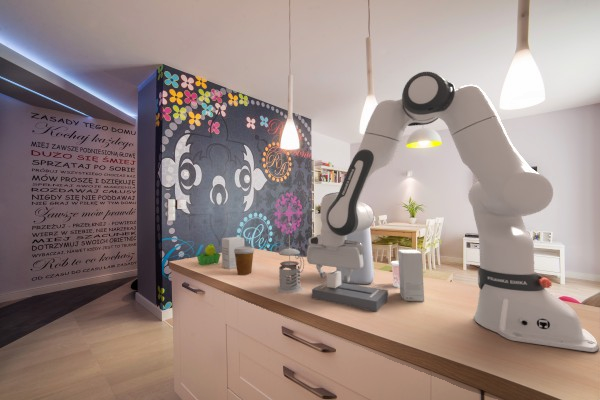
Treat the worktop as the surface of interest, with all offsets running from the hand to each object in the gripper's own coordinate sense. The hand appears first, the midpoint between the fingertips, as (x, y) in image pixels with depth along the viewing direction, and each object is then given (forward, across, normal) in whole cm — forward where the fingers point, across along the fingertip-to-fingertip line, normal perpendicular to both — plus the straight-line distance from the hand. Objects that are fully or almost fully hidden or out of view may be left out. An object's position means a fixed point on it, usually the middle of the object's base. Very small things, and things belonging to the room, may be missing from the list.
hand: (334, 279), depth 92 cm
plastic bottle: (+6, +2, -23) cm, 24 cm away
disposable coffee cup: (+6, +50, -6) cm, 50 cm away
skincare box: (+6, -22, -12) cm, 26 cm away
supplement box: (+6, +64, -13) cm, 66 cm away
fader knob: (+2, 0, 0) cm, 2 cm away
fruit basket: (+6, +82, -11) cm, 82 cm away
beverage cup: (+6, -16, -23) cm, 29 cm away
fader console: (+6, -6, 0) cm, 8 cm away
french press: (+6, +18, +1) cm, 18 cm away
